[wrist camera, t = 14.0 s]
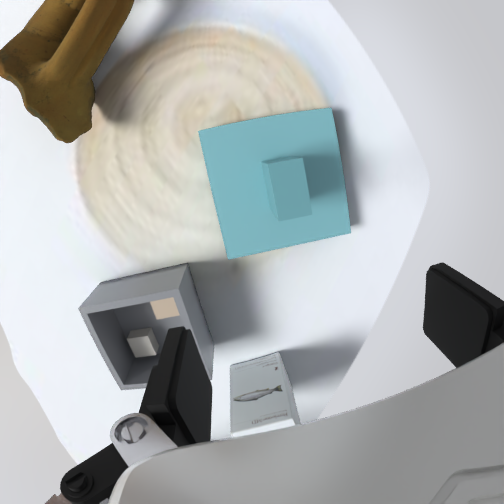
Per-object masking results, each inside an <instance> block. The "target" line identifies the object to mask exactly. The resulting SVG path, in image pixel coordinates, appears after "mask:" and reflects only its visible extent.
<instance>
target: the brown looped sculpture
mask: <svg viewBox="0 0 504 504" xmlns="http://www.w3.org/2000/svg"><path fill="white" fill-rule="evenodd" d="M133 3H134V0H45V1H44V3H43V4H42V5H41V6H40V8H39V9H38V10H37V11H36V13H35V14H34V15H33V16H32V18H31V19H30V20H29V22H28V23H27V25H26V26H25V27H24V29H23V30H22V31H21V32H20V33H19V34H17V35H16V36H15V37H14V38H13V39H12V40H11V41H9V42H8V43H7V44H6V45H5V46H4V47H3V48H2V49H1V50H0V76H1V77H2V78H4V79H6V80H8V81H11V82H12V83H13V84H14V85H15V86H17V88H18V89H19V91H20V93H21V95H22V99H23V103H24V106H25V108H26V109H27V110H28V112H29V113H31V114H32V115H33V116H35V117H38V118H39V119H40V120H41V121H42V122H43V123H44V125H46V126H47V128H48V129H49V130H50V132H51V133H52V134H53V136H54V137H55V138H56V139H57V140H60V141H63V142H65V143H71V142H73V141H74V140H75V139H77V138H78V137H79V136H80V135H82V134H83V133H86V132H87V131H89V130H90V129H91V128H92V120H91V119H92V112H91V110H92V106H93V104H94V101H95V89H94V85H93V81H92V79H91V78H92V76H93V75H94V73H95V72H96V70H97V69H98V67H99V65H100V63H101V62H102V60H103V58H104V56H105V54H106V52H107V51H108V49H109V47H110V46H111V44H112V42H113V41H114V39H115V37H116V36H117V34H118V32H119V31H120V29H121V27H122V26H123V24H124V22H125V20H126V19H127V17H128V15H129V13H130V11H131V8H132V6H133Z"/></svg>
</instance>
